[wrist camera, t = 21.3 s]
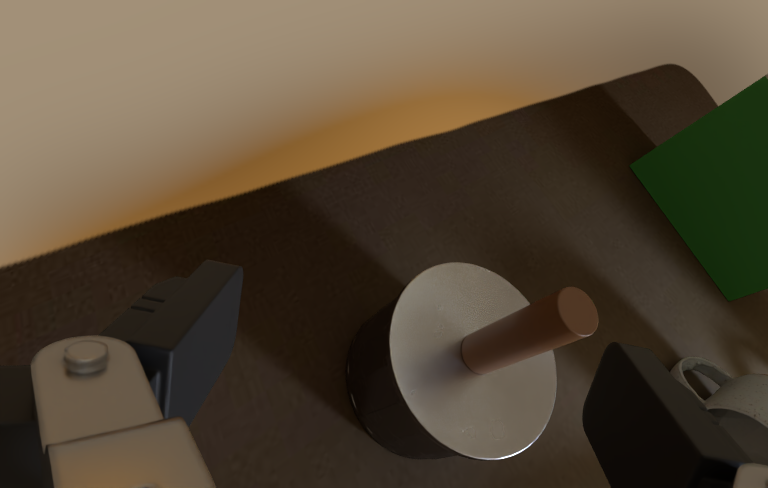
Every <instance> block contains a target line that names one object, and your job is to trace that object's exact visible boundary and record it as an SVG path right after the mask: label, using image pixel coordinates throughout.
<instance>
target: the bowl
mask: <svg viewBox="0 0 768 488" xmlns="http://www.w3.org/2000/svg"><path fill="white" fill-rule="evenodd" d="M395 301H396V298H395V299H394V300H393V301H391V302H390V303H388V304H387V305H386V306H384V307H383V308H382V309H380V310H379V311H378V312H377V313H376V314H375V315H373V316H372V317H371V318H370V319H369V320H367V321H366V322H365V323H364V324H363V325H362V326H361V328H360V329H359V331H358V332H357V334H356V335H355V337H354V339H353V341H352V344H351V346H350V349H349V353H348V357H347V363H346V384H347V390H348V395H349V398H350V402H351V405H352V407H353V410H354V412H355V414H356V416H357V418H358V420H359V421H360V423H361V424H362V426H363V427H364V429H365V430H366V431H367V432H368V433H369V435H370V436H371V437H372V438H373V439H374V440H375V441H377V442H378V443H379V444H380V445H381V446H383V447H384V448H386V449H388V450H389V451H391V452H393V453H395V454H397V455H400V456H403V457H407V458H412V459H440V458H445V457H451V456H457V455H456V454H454V453H451V452H449V451H447V450H445V449H444V448H442V447H441V446H439V445H438V444H436V443H435V442H433V441H432V440H431V439H430V438H429V437H427V436H426V435H425V434H424V433H423V432H422V431H421V430H420V429H419V428H418V427H417V426H416V424H415V423H414V422H413V421H412V419H411V418H410V417H409V415H408V414H407V412H406V411H405V409H404V407H403V406H402V404H401V402H400V400H399V399H398V396H397V394H396V392H395V389H394V387H393V384H392V381H391V378H390V374H389V371H388V365H387V360H386V347H385V341H386V329H387V324H388V318H389V315H390V312H391V309H392V307H393V305H394V303H395Z"/></svg>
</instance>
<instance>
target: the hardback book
mask: <svg viewBox="0 0 768 488" xmlns="http://www.w3.org/2000/svg"><path fill="white" fill-rule="evenodd" d="M629 166H630V168H631V169H632V170H633V172H634V173H635V174H636V176H637V177H638V179H639V180H640V181H641V183H642V184H643V185H644V187H645V188H646V189H647V191H648V192H649V194H650V195H651V196H652V198H653V199H654V200H655V202H656V203H657V204H658V206H659V207H660V209H661V210H662V211H663V213H664V214H665V215H666V217H667V218H668V220H669V221H670V222H671V224H672V225H673V226H674V228H675V229H676V230H677V232H678V233H679V235H680V236H681V237H682V239H683V240H684V241H685V243H686V244H687V245H688V247H689V248H690V250H691V251H692V252H693V254H694V255H695V256H696V258H697V259H698V260H699V262H700V263H701V265H702V266H703V267H704V269H705V270H706V271H707V273H708V274H709V275H710V277H711V278H712V280H713V281H714V282H715V284H716V285H717V286H718V288H719V289H720V291H721V292H722V293H723V295H724V296H725V297H726V299H727V300H728V301H732V300H735V299H738V298H741V297H744V296H747V295H750V294H753V293H756V292H758V291H761V290H764V289H767V288H768V74H767V75H765V76H764V77H762V78H761V79H760V80H758V81H756V82H755V83H753V84H752V85H751V86H749V87H747V88H746V89H744V90H743V91H741V92H740V93H738V94H737V95H735V96H734V97H732V98H731V99H729V100H728V101H726V102H725V103H723V104H722V105H720V106H719V107H717V108H715V109H714V110H712V111H711V112H709V113H708V114H706V115H705V116H703V117H702V118H700V119H699V120H697V121H696V122H694V123H693V124H691V125H690V126H688V127H687V128H685V129H684V130H682V131H681V132H679V133H678V134H676V135H675V136H673V137H672V138H670V139H669V140H667V141H666V142H664V143H663V144H661V145H660V146H658V147H656V148H655V149H653V150H652V151H650V152H649V153H647V154H646V155H644V156H643V157H641V158H640V159H638V160H637V161H635V162H634V163H632V164H631V165H629Z"/></svg>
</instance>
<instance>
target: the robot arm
mask: <svg viewBox="0 0 768 488" xmlns="http://www.w3.org/2000/svg"><path fill="white" fill-rule="evenodd" d="M242 282H243V268H242V267H241V266H237V265H232V264H227V263H222V262H217V261H212V260H205V261H204V262H203V263H202V264H201V265H200V266H199V267H198V268H197V269H196V270H195V271H194V272H193V273H192V274H191V275H190V276H189V277H188V278H182V277H177V276H176V277H173V278H171V279H168V280H165V281H163V282H160V283H157V284H155V285H154V286H153V287H152V288H151V289H149V290H148V291H147V292H146V293H145V294H144V295H143V296H142V299H141V298H139V299H138V300H137V301H136V302H135V303H134V304H133V305H132V306H131V309H130V308H128V309H127V310H126V311H125V312H124V313H123V314H122V315H120V316H119V317H118V318H117V319H116V320H115V321H114V322H113V323H112V324H110V325H109V326H108V327H107V328H106V329H105V330H104V331H103V332H102V333H100V334H99V335H98V336H79V337H73V338H68V339H64V340H61V341H58V342H55V343H53V344H51V345H48V346H47V347H45V348H43V349H42V350H41V351H39V352H38V353H37V354H36V355H35V357H34V358H33V360H32V362H31V365H23V366H0V488H216V486H215V484H214V481H213V479H212V477H211V475H210V473H209V471H208V469H207V466H206V464H205V462H204V460H203V458H202V456H201V454H200V452H199V449H198V447H197V445H196V443H195V441H194V439H193V437H192V434H191V432H190V430H189V428H188V427H189V426H190V424H191V422H192V421H193V419H194V417H195V415H196V414H197V412H198V410H199V409H200V407H201V405H202V404H203V402H204V400H205V399H206V397H207V395H208V393H209V392H210V390H211V388H212V387H213V385H214V383H215V382H216V380H217V378H218V377H219V375H220V373H221V372H222V370H223V368H224V366H225V365H226V363H227V361H228V359H229V357H230V355H231V352H232V349H233V345H234V341H235V337H236V331H237V323H238V315H239V307H240V298H241V290H242ZM583 427H584V431H585V433H586V436H587V438H588V440H589V442H590V444H591V446H592V448H593V450H594V452H595V454H596V456H597V458H598V461H599V463H600V465H601V467H602V469H603V471H604V473H605V475H606V477H607V479H608V481H609V484H610V486H611V488H768V466H766V465H761V464H755V463H754V462H753V461H752V460H751V459H750V458H749V457H748V455H747V454H746V453H745V452H744V451H743V450H742V448H741V447H740V446H739V445H738V444H737V443H736V441H735V440H734V439H733V438H732V437H731V436H730V435H729V433H728V432H727V431H726V430H725V429H724V428H723V426H719V422H718V421H717V419H716V418H715V417H714V416H713V415H712V414H711V412H707V408H706V407H705V405H704V404H703V403H702V402H701V401H700V400H699V399H698V397H697V396H696V395H695V394H694V393H693V392H692V391H691V390H690V389H688V388H687V387H685V386H684V385H683V384H681V383H680V382H679V381H677V380H676V379H675V378H674V377H673V376H672V374H671V373H670V372H669V371H668V370H667V368H666V367H665V366H664V365H663V364H662V363H661V361H660V360H659V359H658V358H657V357H656V355H655V354H654V353H653V352H652V351H651V350H650V349H647V348H642V347H637V346H632V345H627V344H622V343H617V342H612V343H610V344H609V345H608V346H607V347H606V349H605V351H604V353H603V356H602V358H601V361H600V364H599V366H598V369H597V371H596V374H595V377H594V379H593V382H592V385H591V387H590V390H589V392H588V395H587V398H586V400H585V403H584V407H583Z"/></svg>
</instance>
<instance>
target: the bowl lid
mask: <svg viewBox="0 0 768 488" xmlns="http://www.w3.org/2000/svg"><path fill="white" fill-rule="evenodd" d="M597 326H598V314H597V310H596V307H595V305H594V303H593V302H592V300H591V299H590V297H589V296H588V295H587V294H586V293H585V292H584V291H582V290H581V289H579V288H576V287H565V288H563V289H561V290H559V291H557V292H555V293H553V294H551V295H549V296H546V297H544V298H542V299H540V300H538V301H536V302H534V303H532V304H530V303H529V302H528V301H527V299H526V298H525V297H524V296H523V295H522V294H521V293H520V292H519V291H518V290H517V289H516V288H515V287H514V286H513V285H512V284H511V283H509V282H508V281H507V280H505V279H504V278H502V277H501V276H499V275H498V274H496V273H494V272H492V271H490V270H488V269H485V268H483V267H480V266H477V265H473V264H468V263H461V262H460V263H444V264H439V265H436V266H433V267H431V268H429V269H427V270H425V271H423V272H421V273H420V274H419V275H417V276H416V277H415V278H413V279H412V280H411V281H410V282H409V283H408V284H407V285H406V286H405V287H404V288H403V289H402V291H401V292H400V294H399V295H398V297H397V298H396V301H395V303H394V305H393V307H392V309H391V312H390V315H389V318H388V324H387V329H386V341H385V347H386V360H387V365H388V371H389V374H390V378H391V381H392V384H393V387H394V389H395V392H396V394H397V396H398V399H399V400H400V402H401V404H402V406H403V407H404V409H405V411H406V412H407V414H408V415H409V417H410V418H411V419H412V421H413V422H414V423H415V424H416V426H417V427H418V428H419V429H420V430H421V431H422V432H423V433H424V434H425V435H426V436H427V437H429V438H430V439H431V440H432V441H433V442H435V443H436V444H438V445H439V446H441V447H442V448H444V449H445V450H447V451H449V452H451V453H454V454H456V455H458V456H461V457H465V458H468V459H473V460H481V461H485V460H498V459H503V458H507V457H510V456H513V455H515V454H518V453H520V452H521V451H523V450H524V449H526V448H527V447H529V446H530V445H531V444H532V443H533V442H534V441H535V440H536V439H537V438H538V437H539V435H540V434H541V433H542V432H543V430H544V428H545V426H546V425H547V423H548V421H549V418H550V416H551V413H552V411H553V407H554V403H555V397H556V389H557V373H556V363H555V358H554V353H553V349H555V348H558V347H561V346H563V345H566V344H569V343H572V342H574V341H577V340H580V339H583V338H585V337H588V336H590V335H592V334H593V333H594V332H595V330H596V329H597Z"/></svg>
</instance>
